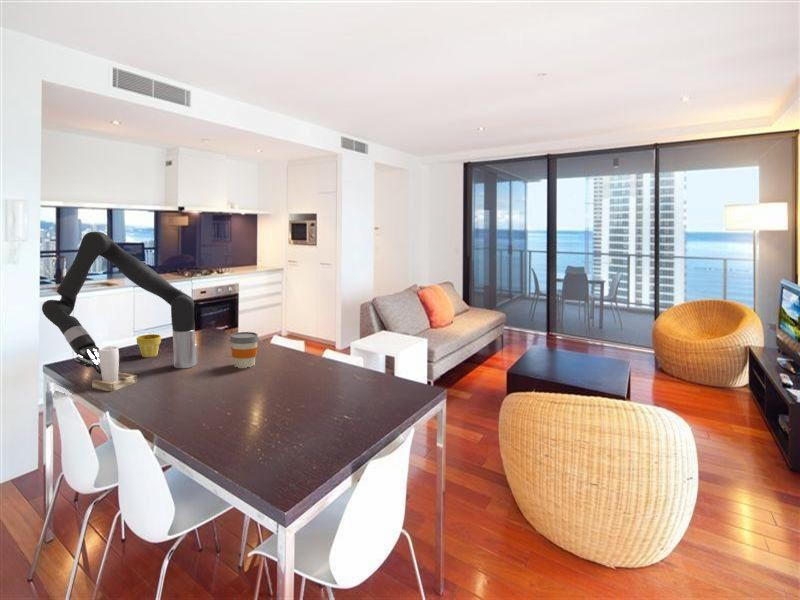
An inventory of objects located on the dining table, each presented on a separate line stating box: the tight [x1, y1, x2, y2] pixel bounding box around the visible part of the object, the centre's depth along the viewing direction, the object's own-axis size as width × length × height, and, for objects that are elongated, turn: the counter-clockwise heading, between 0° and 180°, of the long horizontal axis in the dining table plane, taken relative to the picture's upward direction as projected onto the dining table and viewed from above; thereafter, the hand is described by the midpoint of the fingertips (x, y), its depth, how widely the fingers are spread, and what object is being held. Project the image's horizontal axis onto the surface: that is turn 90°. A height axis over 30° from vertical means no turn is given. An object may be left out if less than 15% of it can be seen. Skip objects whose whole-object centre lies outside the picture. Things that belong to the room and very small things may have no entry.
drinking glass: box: [98, 345, 120, 383], centre depth 174 cm, size 7×7×15 cm
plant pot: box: [136, 333, 162, 358], centre depth 214 cm, size 10×10×10 cm
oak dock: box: [91, 371, 138, 392], centre depth 174 cm, size 11×10×4 cm
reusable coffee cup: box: [229, 331, 259, 369], centre depth 205 cm, size 12×13×15 cm
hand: (102, 372), depth 175 cm, fingers closed
